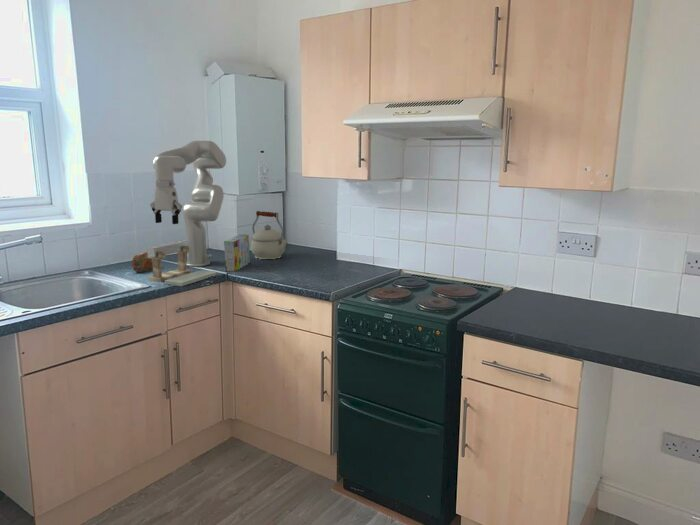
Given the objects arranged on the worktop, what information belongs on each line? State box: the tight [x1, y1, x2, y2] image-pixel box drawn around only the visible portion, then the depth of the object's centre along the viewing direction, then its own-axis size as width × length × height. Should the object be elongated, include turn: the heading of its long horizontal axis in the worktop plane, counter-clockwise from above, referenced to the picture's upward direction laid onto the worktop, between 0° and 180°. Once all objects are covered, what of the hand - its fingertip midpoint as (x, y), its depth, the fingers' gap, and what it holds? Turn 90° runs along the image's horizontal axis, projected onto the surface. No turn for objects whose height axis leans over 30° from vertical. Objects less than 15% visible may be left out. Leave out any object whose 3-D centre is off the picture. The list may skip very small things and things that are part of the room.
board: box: [164, 269, 218, 287], centre depth 243 cm, size 24×9×2 cm, turn 156°
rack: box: [147, 246, 192, 283], centre depth 247 cm, size 20×7×13 cm, turn 156°
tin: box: [131, 251, 153, 273], centre depth 260 cm, size 15×3×8 cm, turn 168°
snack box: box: [223, 233, 251, 272], centre depth 269 cm, size 21×6×15 cm, turn 171°
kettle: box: [250, 210, 289, 260], centre depth 292 cm, size 25×18×25 cm
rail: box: [146, 240, 189, 257], centre depth 246 cm, size 22×4×4 cm, turn 156°
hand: (167, 223), depth 243 cm, fingers open, 9 cm apart
